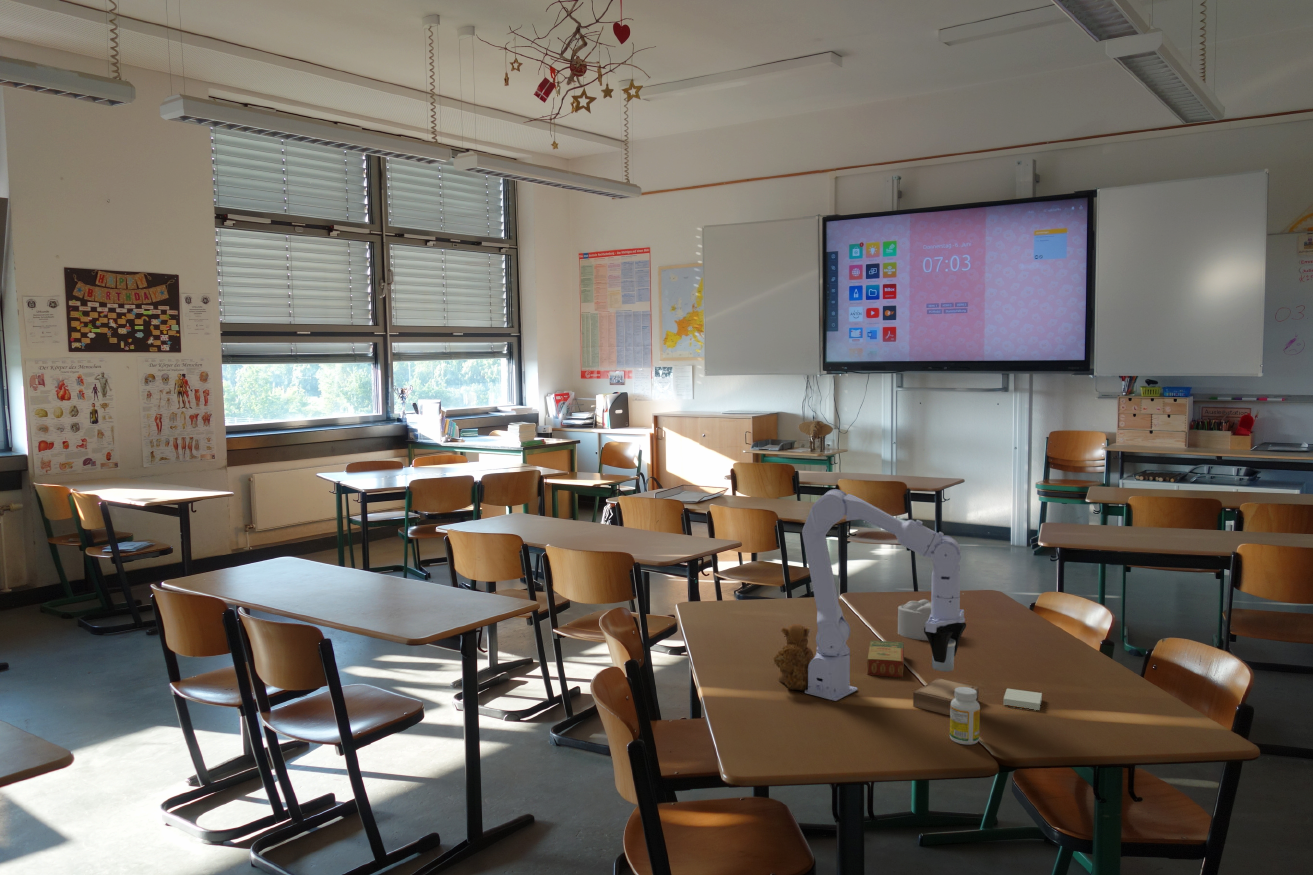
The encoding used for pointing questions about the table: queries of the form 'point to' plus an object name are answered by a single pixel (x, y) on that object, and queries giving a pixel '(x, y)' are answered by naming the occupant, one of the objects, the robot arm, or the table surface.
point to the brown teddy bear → (794, 657)
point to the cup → (949, 660)
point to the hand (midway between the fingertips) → (944, 658)
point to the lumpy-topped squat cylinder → (914, 619)
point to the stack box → (938, 695)
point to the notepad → (1022, 699)
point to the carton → (885, 658)
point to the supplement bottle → (964, 716)
